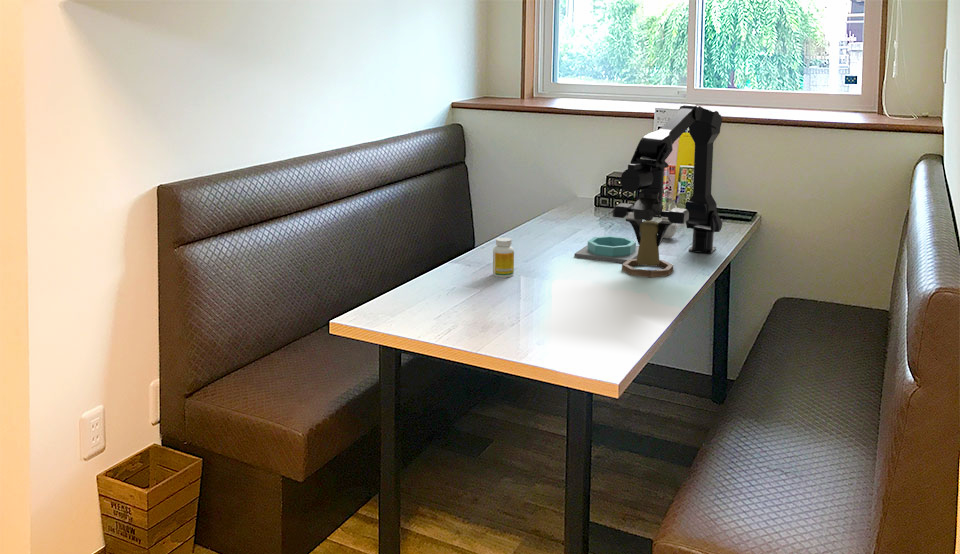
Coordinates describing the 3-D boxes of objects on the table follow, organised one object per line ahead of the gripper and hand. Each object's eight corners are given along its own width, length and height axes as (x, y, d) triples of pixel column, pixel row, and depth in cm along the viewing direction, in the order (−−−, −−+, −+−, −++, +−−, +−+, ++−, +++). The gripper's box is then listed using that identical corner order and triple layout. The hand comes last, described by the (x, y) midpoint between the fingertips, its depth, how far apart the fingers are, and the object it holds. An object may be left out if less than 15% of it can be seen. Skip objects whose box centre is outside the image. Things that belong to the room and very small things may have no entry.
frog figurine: (675, 235, 273) (677, 213, 271) (678, 241, 266) (679, 218, 265) (655, 235, 274) (656, 212, 272) (657, 240, 267) (658, 217, 265)
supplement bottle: (489, 273, 233) (489, 237, 230) (507, 271, 235) (508, 235, 233) (498, 279, 229) (499, 242, 226) (517, 276, 231) (517, 240, 228)
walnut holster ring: (631, 261, 244) (632, 256, 244) (676, 267, 239) (677, 261, 238) (617, 273, 234) (617, 267, 233) (664, 279, 228) (664, 273, 228)
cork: (659, 265, 232) (661, 224, 229) (635, 264, 233) (637, 223, 230) (659, 259, 238) (662, 219, 235) (636, 258, 239) (638, 218, 236)
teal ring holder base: (593, 244, 263) (594, 232, 262) (647, 250, 256) (647, 238, 255) (574, 257, 249) (574, 244, 248) (630, 263, 242) (630, 251, 241)
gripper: (606, 188, 227) (604, 248, 231) (679, 195, 219) (676, 257, 223) (620, 181, 237) (618, 239, 241) (691, 187, 229) (687, 246, 233)
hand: (648, 245), depth 234 cm, fingers closed on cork, 4 cm apart
